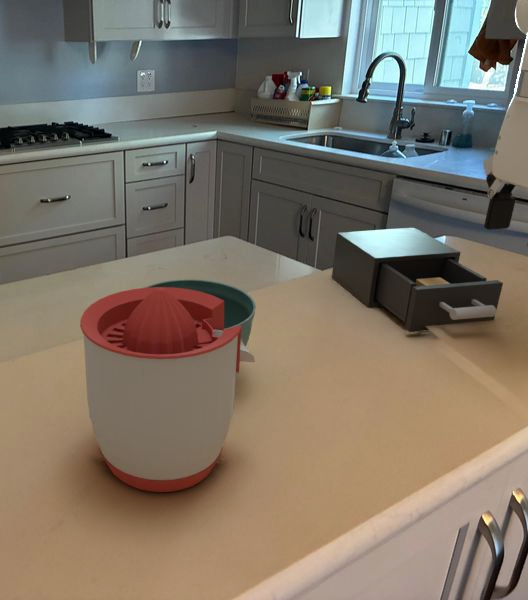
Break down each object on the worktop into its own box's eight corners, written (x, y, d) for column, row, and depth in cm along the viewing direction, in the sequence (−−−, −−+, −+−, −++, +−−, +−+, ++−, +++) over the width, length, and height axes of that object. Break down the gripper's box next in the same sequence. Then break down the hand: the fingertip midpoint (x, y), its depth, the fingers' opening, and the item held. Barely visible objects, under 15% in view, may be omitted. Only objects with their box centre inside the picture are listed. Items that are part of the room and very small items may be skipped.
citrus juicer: (270, 497, 61) (287, 314, 53) (95, 518, 59) (84, 331, 50) (225, 409, 75) (233, 254, 67) (83, 423, 73) (73, 265, 65)
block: (435, 300, 98) (440, 277, 96) (451, 311, 94) (456, 286, 92) (412, 302, 97) (416, 279, 96) (426, 313, 94) (431, 288, 92)
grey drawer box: (450, 300, 102) (460, 252, 99) (367, 307, 100) (375, 258, 97) (406, 271, 115) (413, 227, 111) (331, 277, 113) (336, 232, 109)
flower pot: (176, 427, 72) (177, 345, 67) (106, 369, 84) (102, 296, 80) (276, 385, 79) (283, 309, 75) (198, 338, 92) (200, 270, 88)
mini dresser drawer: (513, 338, 88) (524, 294, 85) (426, 345, 86) (434, 301, 84) (442, 292, 103) (450, 254, 100) (367, 298, 102) (373, 260, 99)
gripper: (653, 93, 62) (602, 258, 69) (528, 80, 78) (497, 216, 85) (586, 96, 61) (542, 263, 68) (473, 83, 77) (447, 220, 84)
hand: (517, 236), depth 77 cm, fingers open, 7 cm apart
